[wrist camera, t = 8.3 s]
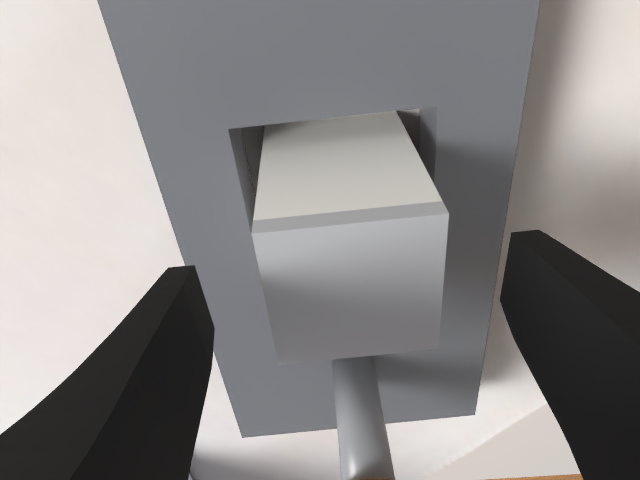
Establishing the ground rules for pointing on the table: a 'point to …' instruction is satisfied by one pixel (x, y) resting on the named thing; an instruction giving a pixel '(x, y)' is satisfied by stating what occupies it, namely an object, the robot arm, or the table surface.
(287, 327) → the plug
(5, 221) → the table surface
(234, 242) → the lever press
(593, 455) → the robot arm
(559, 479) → the wooden square stick
